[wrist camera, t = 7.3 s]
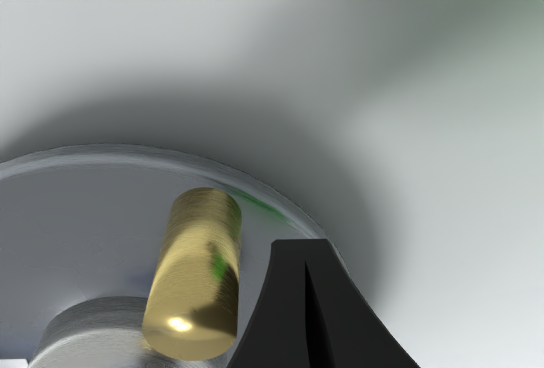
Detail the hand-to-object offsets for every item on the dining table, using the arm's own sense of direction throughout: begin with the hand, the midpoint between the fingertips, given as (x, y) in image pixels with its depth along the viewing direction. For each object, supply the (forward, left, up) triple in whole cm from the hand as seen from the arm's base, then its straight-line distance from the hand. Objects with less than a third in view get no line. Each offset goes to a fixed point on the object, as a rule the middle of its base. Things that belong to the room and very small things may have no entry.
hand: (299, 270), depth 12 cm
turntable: (-5, -6, -4) cm, 9 cm away
